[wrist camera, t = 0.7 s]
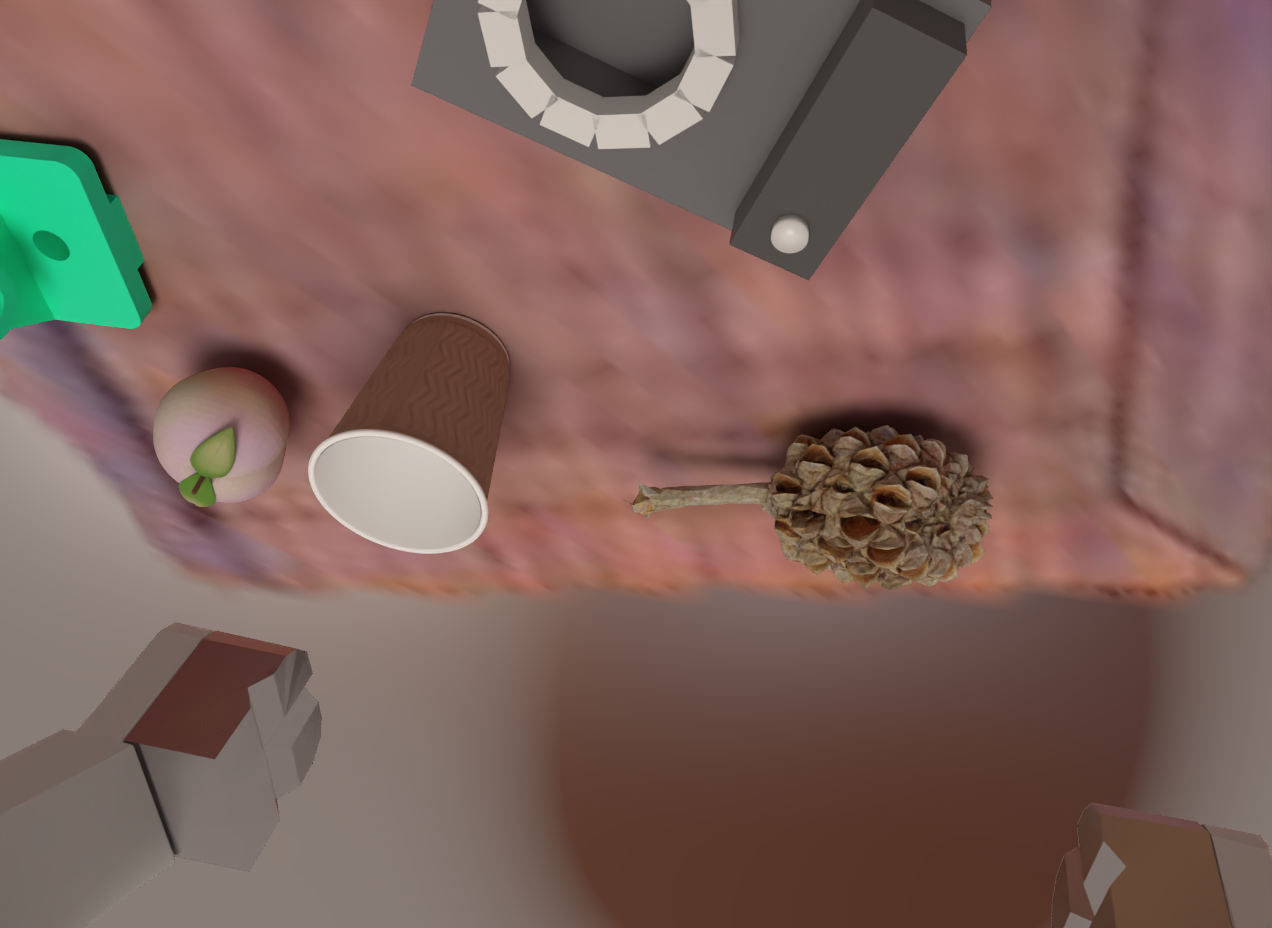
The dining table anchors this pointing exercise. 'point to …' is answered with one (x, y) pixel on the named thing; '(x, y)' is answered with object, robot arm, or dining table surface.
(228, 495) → the decorative fruit
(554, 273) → the dining table surface
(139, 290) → the camera mount
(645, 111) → the camera body
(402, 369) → the coffee cup
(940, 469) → the pine cone
